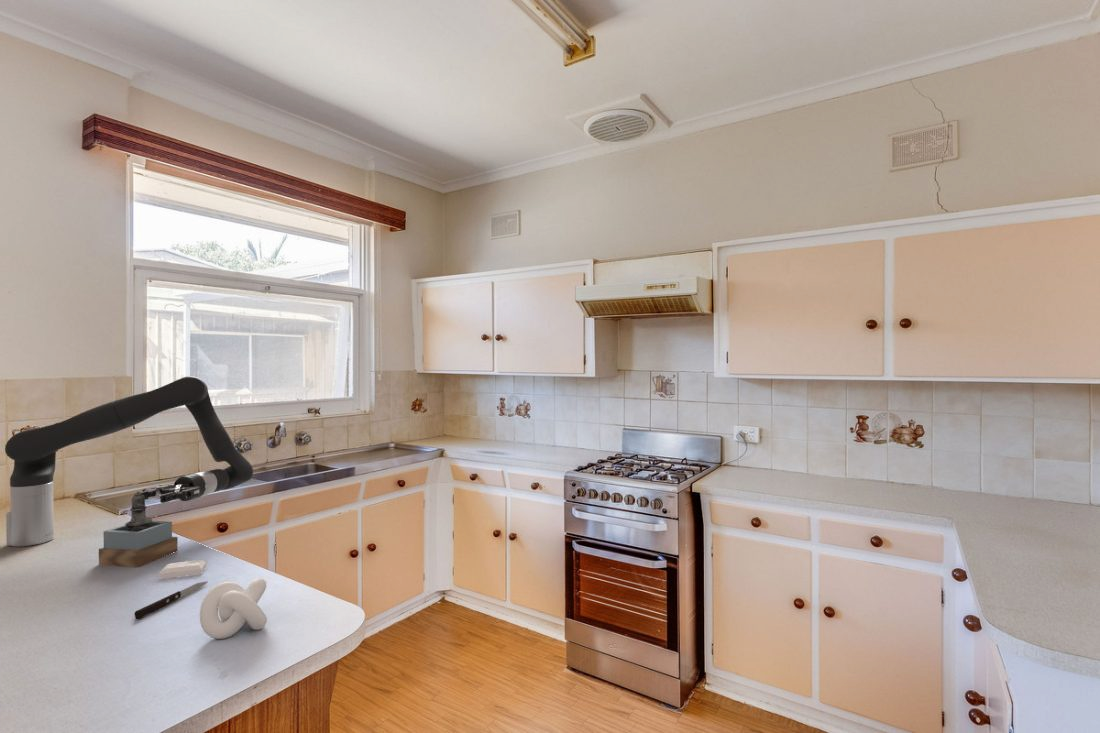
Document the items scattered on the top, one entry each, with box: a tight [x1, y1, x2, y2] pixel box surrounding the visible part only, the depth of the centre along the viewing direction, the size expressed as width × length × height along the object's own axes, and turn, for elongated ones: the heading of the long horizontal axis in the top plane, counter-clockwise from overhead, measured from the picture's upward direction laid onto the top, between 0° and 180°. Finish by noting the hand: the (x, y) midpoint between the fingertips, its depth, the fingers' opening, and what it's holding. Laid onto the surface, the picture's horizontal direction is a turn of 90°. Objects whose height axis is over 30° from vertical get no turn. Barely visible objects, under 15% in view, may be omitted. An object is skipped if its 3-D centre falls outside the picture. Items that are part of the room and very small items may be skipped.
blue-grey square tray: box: [103, 520, 173, 551], centre depth 146 cm, size 10×10×4 cm
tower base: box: [98, 536, 179, 568], centre depth 146 cm, size 12×12×4 cm
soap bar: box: [158, 559, 208, 580], centre depth 135 cm, size 5×9×3 cm, turn 110°
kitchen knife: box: [134, 581, 208, 621], centre depth 119 cm, size 18×1×2 cm, turn 169°
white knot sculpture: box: [199, 577, 268, 640], centre depth 107 cm, size 11×12×9 cm
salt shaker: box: [124, 491, 153, 532], centre depth 146 cm, size 6×6×12 cm
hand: (148, 498), depth 150 cm, fingers open, 8 cm apart
